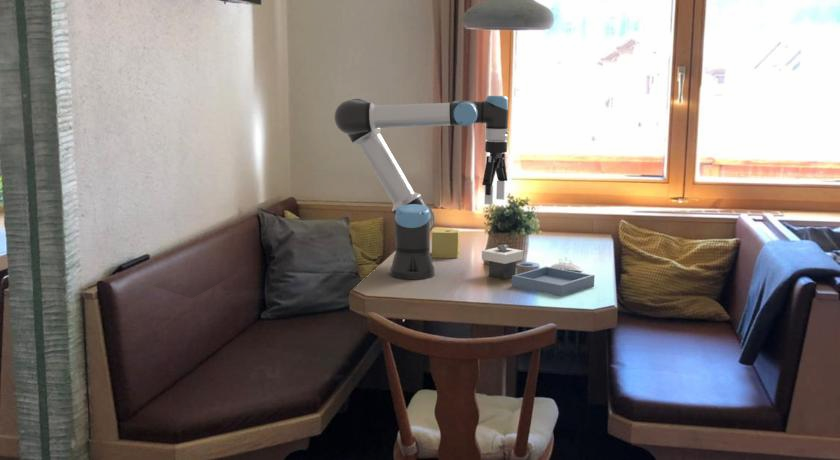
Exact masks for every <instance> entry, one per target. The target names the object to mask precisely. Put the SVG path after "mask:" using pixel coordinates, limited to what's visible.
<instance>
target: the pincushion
mask: <svg viewBox="0 0 840 460" xmlns="http://www.w3.org/2000/svg"><path fill="white" fill-rule="evenodd" d="M567 260H568V259H567V258H565V261H561V260H559V262H556V263H553V264H552V265H551V266H550V267H552V268H557V269H563V270H568V271H571V270H572V271H573V270H574V271H580V272H583V271H584V270H583V269H582V268H581V267H580V266H579V265H577V264H575V263H573V262H570V261H569V262H568V261H567ZM570 269H571V270H570Z"/></svg>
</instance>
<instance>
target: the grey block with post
mask: <svg viewBox="0 0 840 460" xmlns="http://www.w3.org/2000/svg"><path fill="white" fill-rule="evenodd" d="M506 248H509V245H508V244H506V243H504V244H499V245H497V249H499V252H502V253H506ZM488 265H489V266H488V277H489V278H493V279H498V280H502V281H504V280H507V279H512V276H513V275H516V274H517V273H516V272H517V271H516V268H517V261H515V262H511V263H507V264H503V263H498V262H493V261H489V263H488Z"/></svg>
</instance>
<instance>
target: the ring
mask: <svg viewBox="0 0 840 460" xmlns="http://www.w3.org/2000/svg"><path fill="white" fill-rule="evenodd" d="M524 251H525V250H523V249H522V250H521V249H516V248H510V247H508V248H506V253H502V252H499V249H497V247H493V248H488V249H483V250H481V260H484V261H493V262H498V263H503V264H507V263H511V262H515V261H516V262H518V261H523V260H524V256H525V255H524Z"/></svg>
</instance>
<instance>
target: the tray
mask: <svg viewBox="0 0 840 460" xmlns="http://www.w3.org/2000/svg"><path fill="white" fill-rule="evenodd" d="M595 276H596V275H595V274H590V273H589V274H588V273H584V272H578V271H575V270H574V271H573V270H572V271H571V270H570V271H569V269H559V268H558V269H557V268H552V267H551V266H542V267H540V268H535V269H532V270H529V271H524V272H521V273H516V275H513V276H512V278H511V287H514V288H520V289H523V290H530V291H532V292H533V291H534V292H539V293H544V294H549V295H552V296H558V297H563V296H568V295H570V294H573V293H576V292H579V290H580V291H582V289H583V290H585V288H586V289H588V288H592V287H594V286H595ZM591 286H592V287H591Z"/></svg>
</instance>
